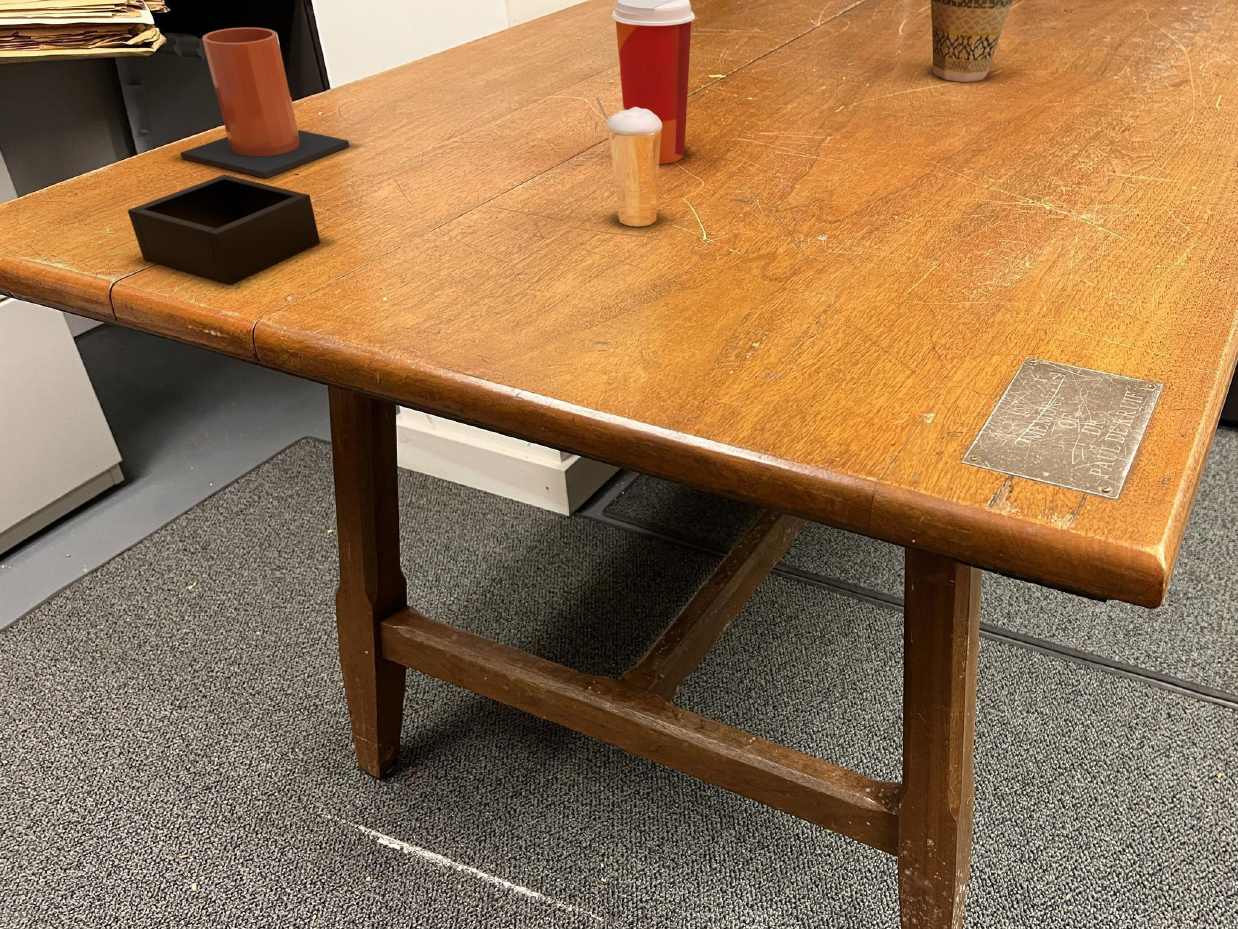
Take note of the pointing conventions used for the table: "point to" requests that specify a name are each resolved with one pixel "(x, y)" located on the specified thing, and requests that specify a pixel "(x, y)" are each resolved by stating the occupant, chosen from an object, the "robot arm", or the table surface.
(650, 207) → the milkshake
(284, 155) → the coaster
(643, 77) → the paper cup
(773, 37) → the table surface
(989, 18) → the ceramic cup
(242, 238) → the open black box
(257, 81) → the cup
